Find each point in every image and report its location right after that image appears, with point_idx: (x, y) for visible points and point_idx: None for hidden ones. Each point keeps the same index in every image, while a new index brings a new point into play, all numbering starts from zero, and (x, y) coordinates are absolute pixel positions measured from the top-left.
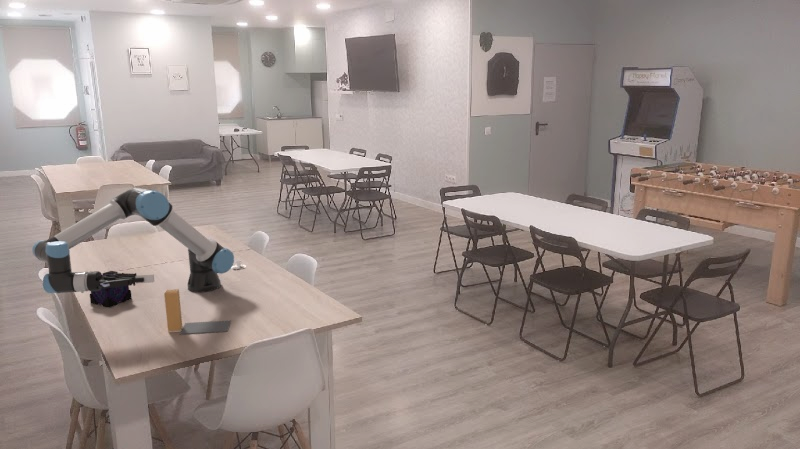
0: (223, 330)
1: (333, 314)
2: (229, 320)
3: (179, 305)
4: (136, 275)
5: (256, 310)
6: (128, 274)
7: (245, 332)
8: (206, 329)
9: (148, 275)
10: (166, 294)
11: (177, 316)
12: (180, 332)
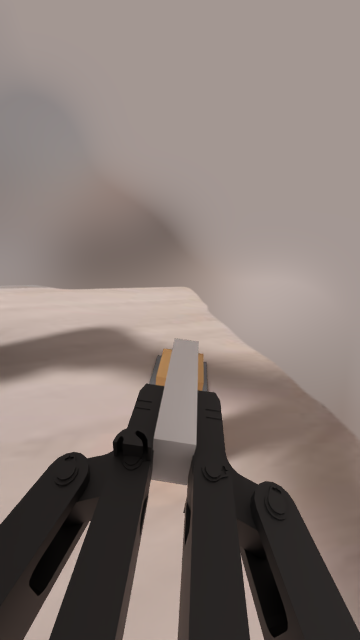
0: (204, 366)
1: (175, 292)
2: (158, 356)
3: None
4: (159, 435)
5: (124, 329)
6: (12, 588)
7: (212, 346)
8: None
9: (188, 357)
10: (203, 380)
11: None
12: None
